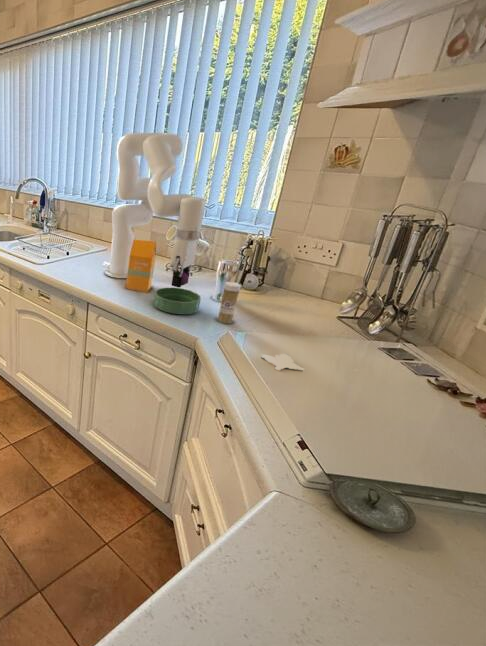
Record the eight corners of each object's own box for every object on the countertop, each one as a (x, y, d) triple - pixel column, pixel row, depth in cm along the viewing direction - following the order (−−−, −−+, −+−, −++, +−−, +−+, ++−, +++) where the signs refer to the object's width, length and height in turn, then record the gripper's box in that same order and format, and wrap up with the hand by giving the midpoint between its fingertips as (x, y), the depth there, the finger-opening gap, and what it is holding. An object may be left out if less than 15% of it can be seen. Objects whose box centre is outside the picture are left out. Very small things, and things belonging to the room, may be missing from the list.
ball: (169, 285, 142) (171, 272, 140) (175, 282, 145) (177, 269, 143) (183, 288, 138) (185, 275, 136) (189, 285, 141) (191, 271, 139)
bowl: (145, 307, 145) (147, 294, 143) (164, 296, 155) (166, 284, 153) (187, 319, 135) (189, 306, 133) (204, 307, 145) (207, 294, 143)
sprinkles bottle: (217, 322, 133) (225, 285, 127) (216, 317, 136) (224, 280, 131) (232, 324, 131) (241, 286, 126) (231, 319, 135) (240, 282, 129)
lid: (407, 517, 66) (416, 490, 65) (416, 548, 58) (427, 518, 57) (326, 486, 72) (334, 461, 71) (325, 510, 65) (334, 483, 64)
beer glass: (229, 303, 147) (238, 265, 141) (209, 299, 151) (217, 262, 145) (232, 298, 152) (241, 261, 146) (213, 294, 156) (220, 258, 150)
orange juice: (130, 283, 170) (135, 237, 162) (151, 286, 166) (158, 239, 158) (125, 288, 164) (130, 241, 156) (147, 292, 160) (154, 244, 152)
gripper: (187, 229, 142) (179, 277, 149) (165, 236, 132) (158, 288, 139) (208, 232, 137) (199, 281, 144) (188, 240, 127) (179, 293, 133)
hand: (179, 284), depth 141 cm, fingers closed on ball, 4 cm apart
